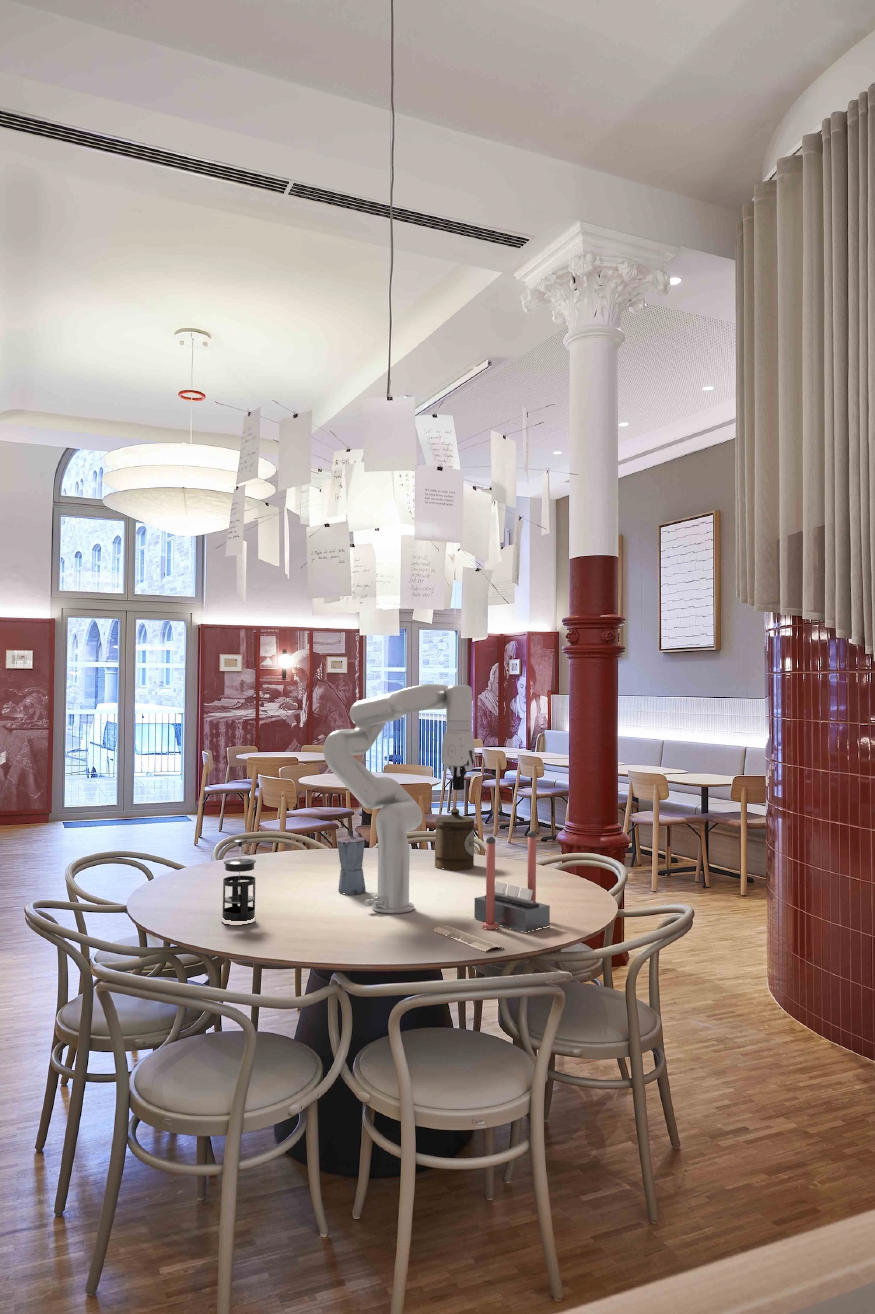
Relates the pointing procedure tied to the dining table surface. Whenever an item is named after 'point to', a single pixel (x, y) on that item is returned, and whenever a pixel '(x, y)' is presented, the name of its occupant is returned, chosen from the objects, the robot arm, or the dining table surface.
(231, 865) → the french press
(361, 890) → the moka pot
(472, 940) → the beige flat board
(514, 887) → the breaker paddles
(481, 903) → the box
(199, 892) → the dining table surface
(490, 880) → the near post
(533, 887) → the far post
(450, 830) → the wooden container
